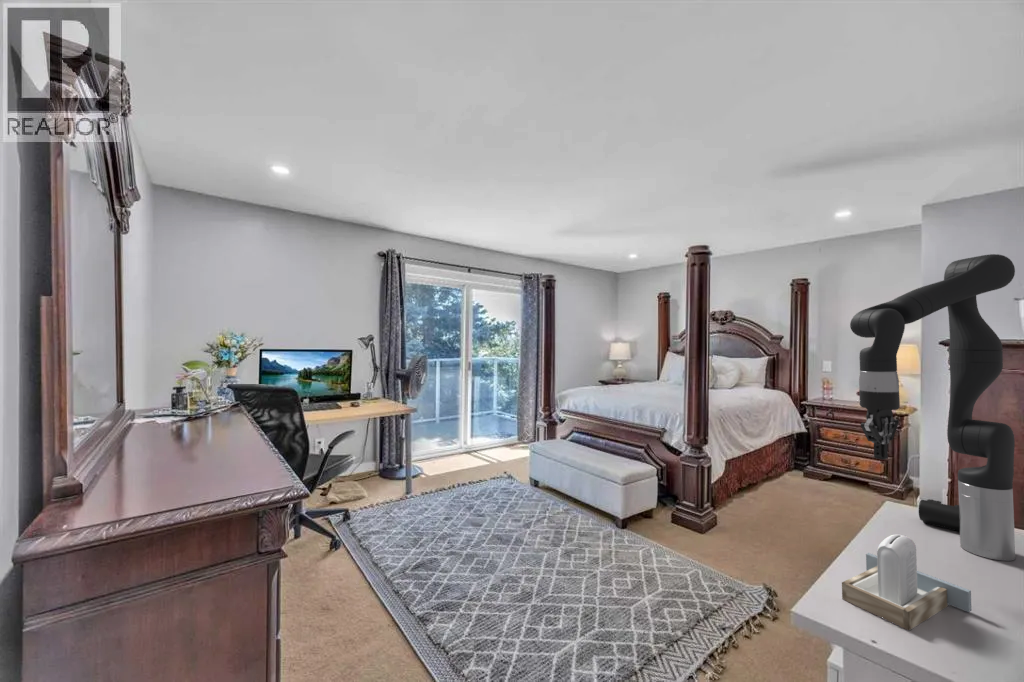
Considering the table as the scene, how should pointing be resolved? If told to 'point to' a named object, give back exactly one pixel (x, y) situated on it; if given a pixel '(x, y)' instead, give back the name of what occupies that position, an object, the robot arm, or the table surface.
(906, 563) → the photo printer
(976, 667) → the table surface
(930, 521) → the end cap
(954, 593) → the tray
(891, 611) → the dock housing
